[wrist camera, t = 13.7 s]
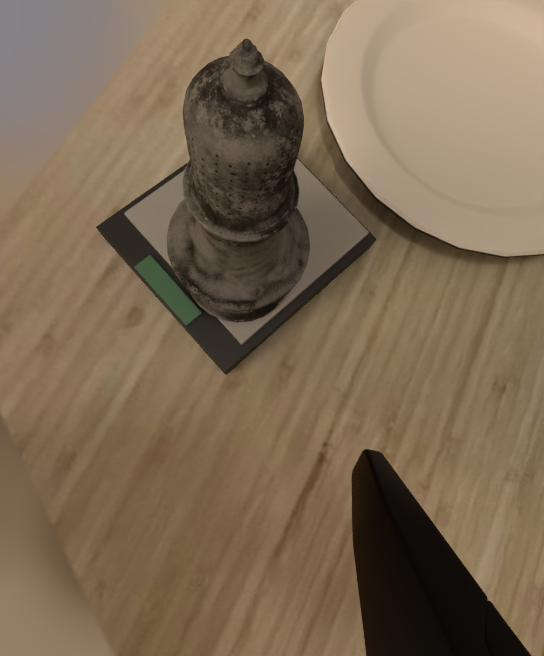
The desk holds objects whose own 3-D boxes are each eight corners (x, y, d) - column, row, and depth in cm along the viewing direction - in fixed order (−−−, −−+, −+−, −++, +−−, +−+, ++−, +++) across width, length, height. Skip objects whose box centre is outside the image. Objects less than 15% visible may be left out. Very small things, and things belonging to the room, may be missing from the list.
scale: (225, 374, 19) (225, 372, 17) (103, 237, 20) (92, 223, 18) (369, 248, 21) (379, 235, 20) (254, 129, 22) (256, 108, 20)
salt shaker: (235, 353, 17) (238, 252, 6) (154, 267, 18) (5, 13, 6) (319, 275, 19) (460, 65, 7) (241, 197, 19) (253, -124, 8)
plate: (670, 137, 25) (701, 118, 24) (495, 336, 21) (517, 331, 19) (453, -54, 27) (467, -85, 25) (247, 92, 22) (248, 68, 21)
